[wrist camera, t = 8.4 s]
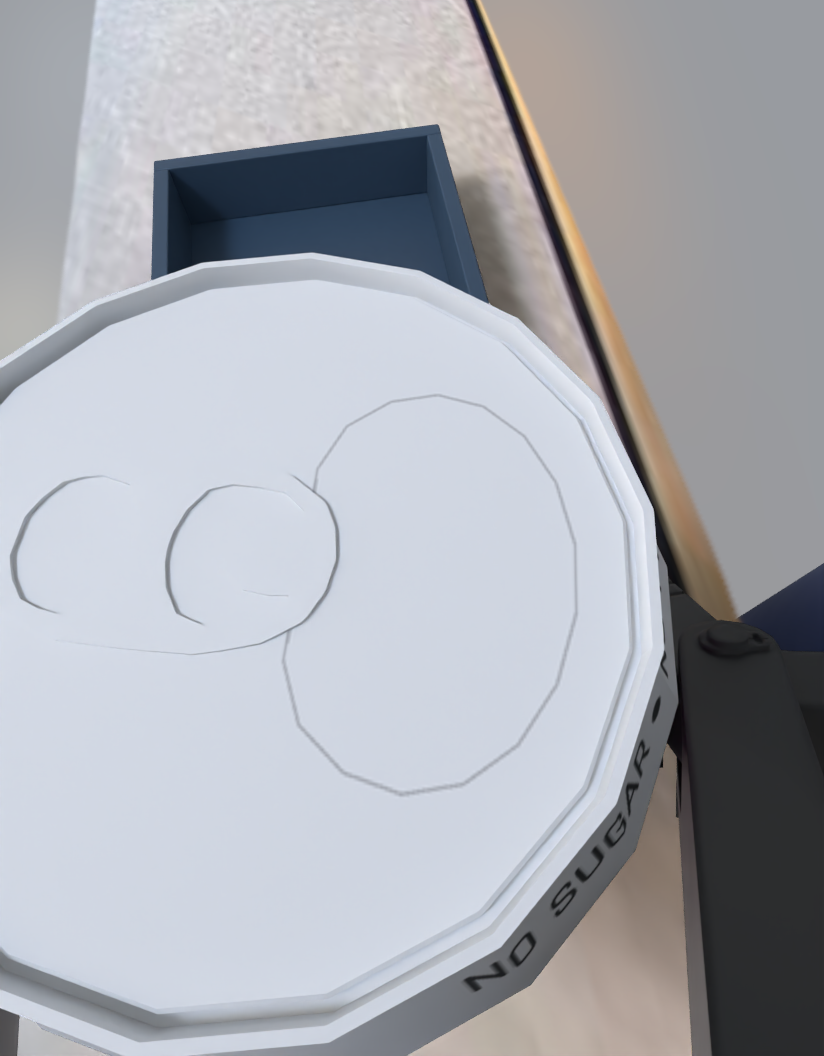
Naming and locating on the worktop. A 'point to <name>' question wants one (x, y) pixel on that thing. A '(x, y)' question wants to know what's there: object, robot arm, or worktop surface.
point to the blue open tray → (318, 206)
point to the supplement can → (311, 662)
